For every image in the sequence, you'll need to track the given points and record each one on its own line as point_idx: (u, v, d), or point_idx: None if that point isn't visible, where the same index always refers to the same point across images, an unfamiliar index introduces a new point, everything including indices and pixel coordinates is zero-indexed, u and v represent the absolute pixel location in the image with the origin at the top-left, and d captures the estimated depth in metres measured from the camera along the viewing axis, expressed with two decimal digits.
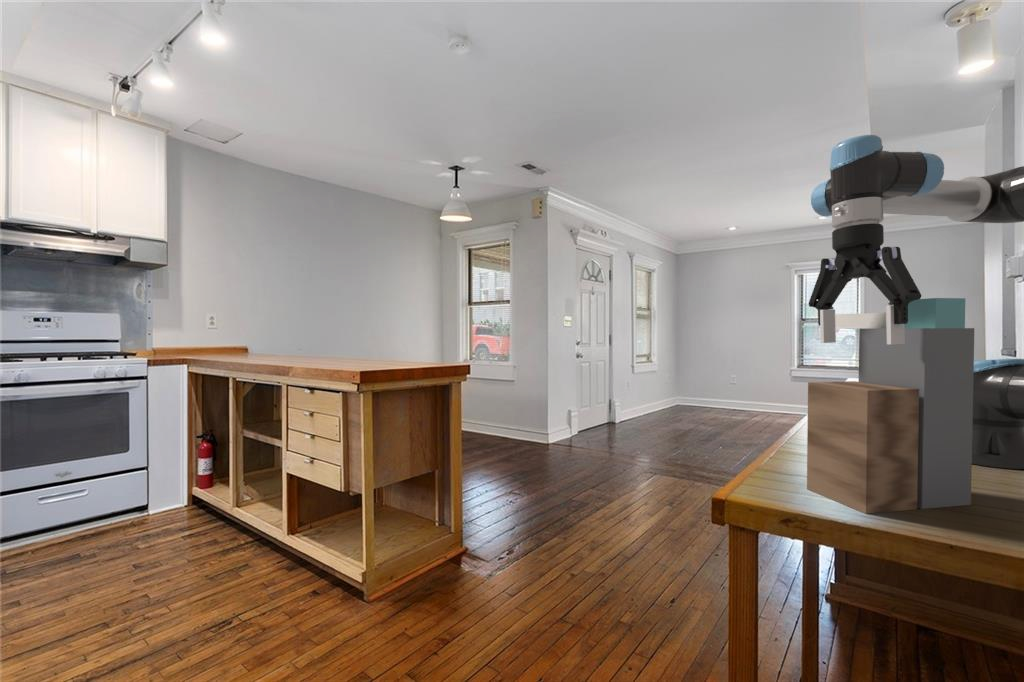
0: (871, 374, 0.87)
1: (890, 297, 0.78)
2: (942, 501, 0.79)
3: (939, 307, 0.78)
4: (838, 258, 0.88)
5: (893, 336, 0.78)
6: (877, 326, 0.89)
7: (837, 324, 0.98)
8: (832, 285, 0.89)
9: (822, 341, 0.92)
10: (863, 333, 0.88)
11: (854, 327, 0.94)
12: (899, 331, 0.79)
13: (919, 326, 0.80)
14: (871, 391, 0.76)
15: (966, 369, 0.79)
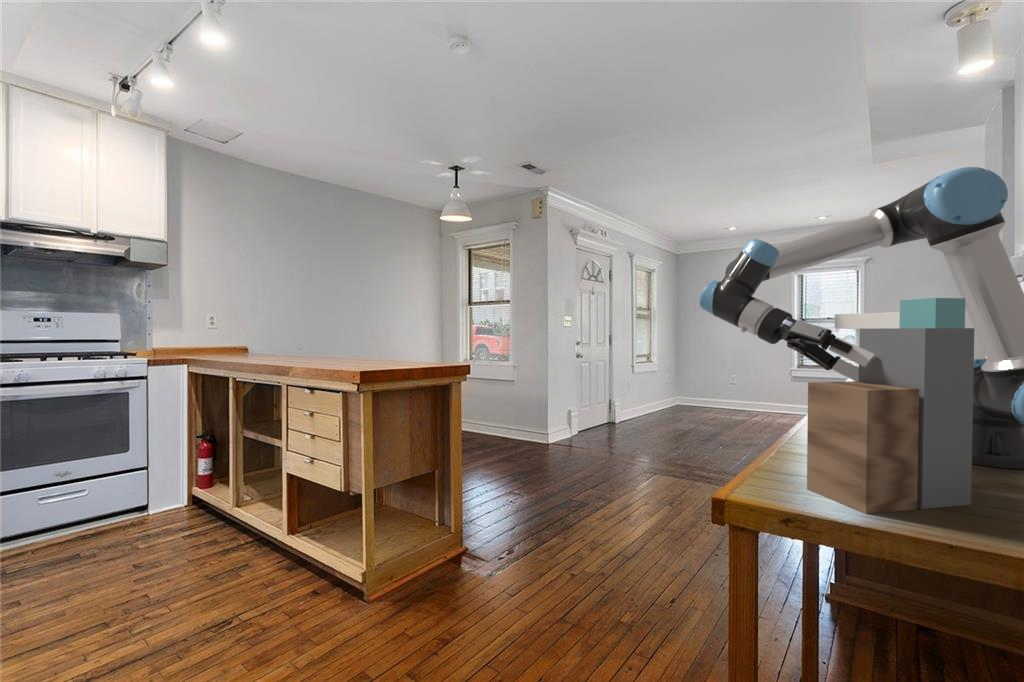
0: (871, 374, 0.87)
1: (821, 345, 0.91)
2: (942, 501, 0.79)
3: (939, 307, 0.78)
4: (787, 341, 1.03)
5: (859, 360, 0.86)
6: (877, 326, 0.89)
7: (837, 324, 0.98)
8: (809, 354, 1.02)
9: None
10: (863, 333, 0.88)
11: (854, 327, 0.94)
12: (858, 353, 0.87)
13: (919, 326, 0.80)
14: (871, 391, 0.76)
15: (966, 369, 0.79)
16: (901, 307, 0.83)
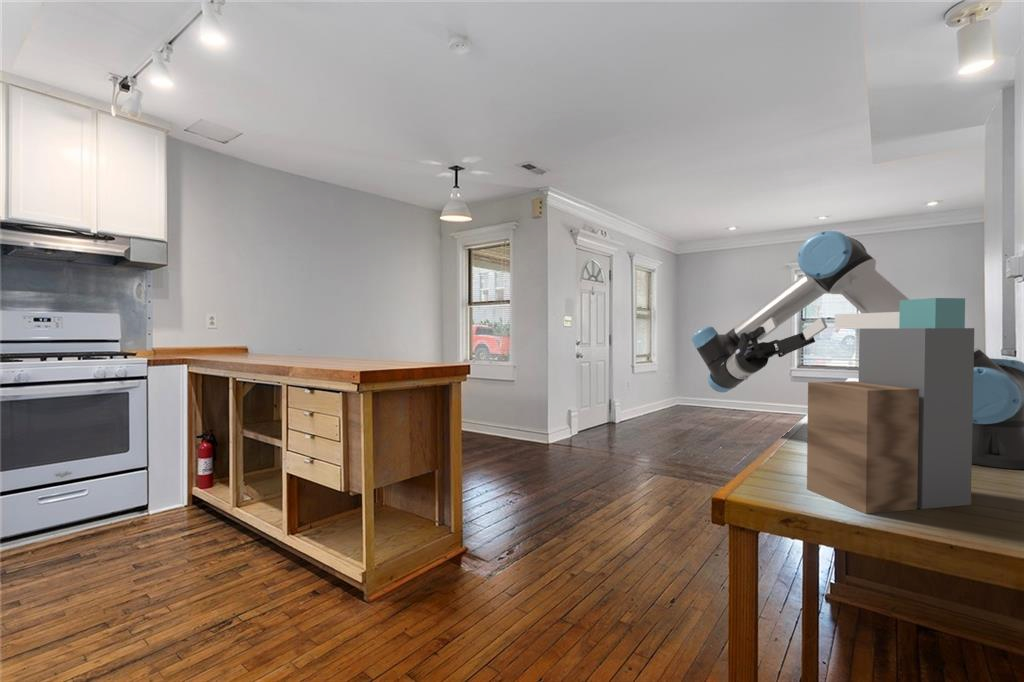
0: (871, 374, 0.87)
1: None
2: (942, 501, 0.79)
3: (939, 307, 0.78)
4: None
5: (770, 328, 1.12)
6: (877, 326, 0.89)
7: (837, 324, 0.98)
8: (786, 347, 1.23)
9: (825, 327, 1.14)
10: (863, 333, 0.88)
11: (854, 327, 0.94)
12: (767, 325, 1.13)
13: (919, 326, 0.80)
14: (871, 391, 0.76)
15: (966, 369, 0.79)
16: (901, 307, 0.83)
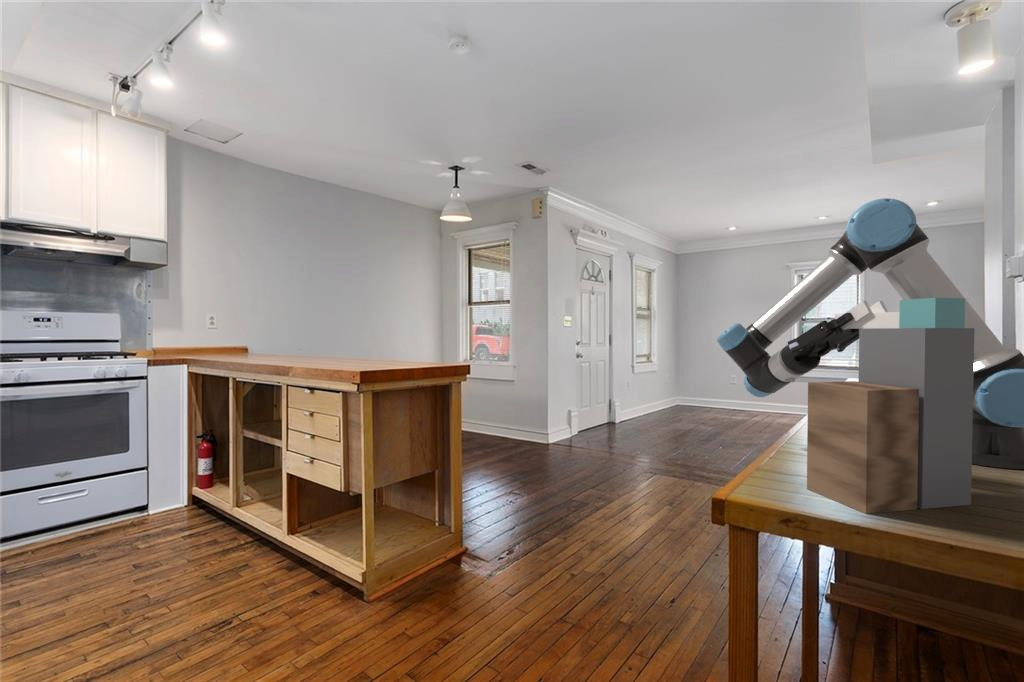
0: (871, 374, 0.87)
1: (835, 332, 0.97)
2: (942, 501, 0.79)
3: (939, 307, 0.78)
4: None
5: (862, 313, 0.91)
6: (877, 326, 0.89)
7: None
8: (839, 342, 1.01)
9: None
10: (863, 333, 0.88)
11: (854, 327, 0.94)
12: (856, 311, 0.93)
13: (919, 326, 0.80)
14: (871, 391, 0.76)
15: (966, 369, 0.79)
16: (901, 307, 0.83)
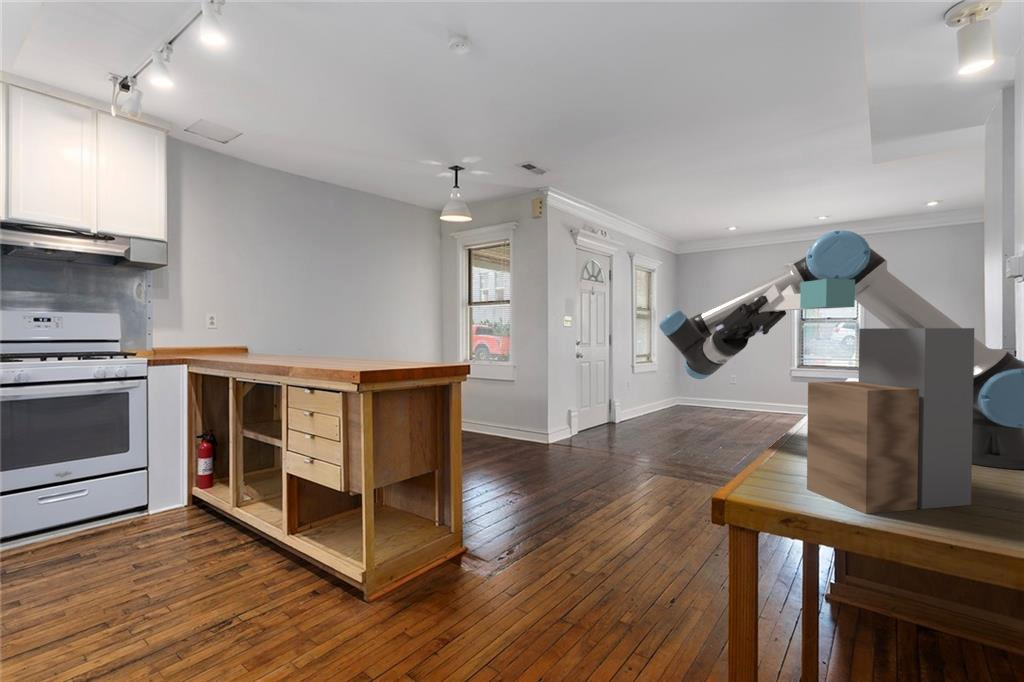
0: (871, 374, 0.87)
1: (754, 314, 1.04)
2: (942, 501, 0.79)
3: (830, 287, 0.85)
4: (750, 336, 1.14)
5: (774, 296, 0.99)
6: (785, 307, 0.96)
7: None
8: (760, 324, 1.09)
9: None
10: (863, 333, 0.88)
11: (769, 309, 1.01)
12: (770, 294, 1.00)
13: (814, 305, 0.87)
14: (871, 391, 0.76)
15: (966, 369, 0.79)
16: (801, 288, 0.90)
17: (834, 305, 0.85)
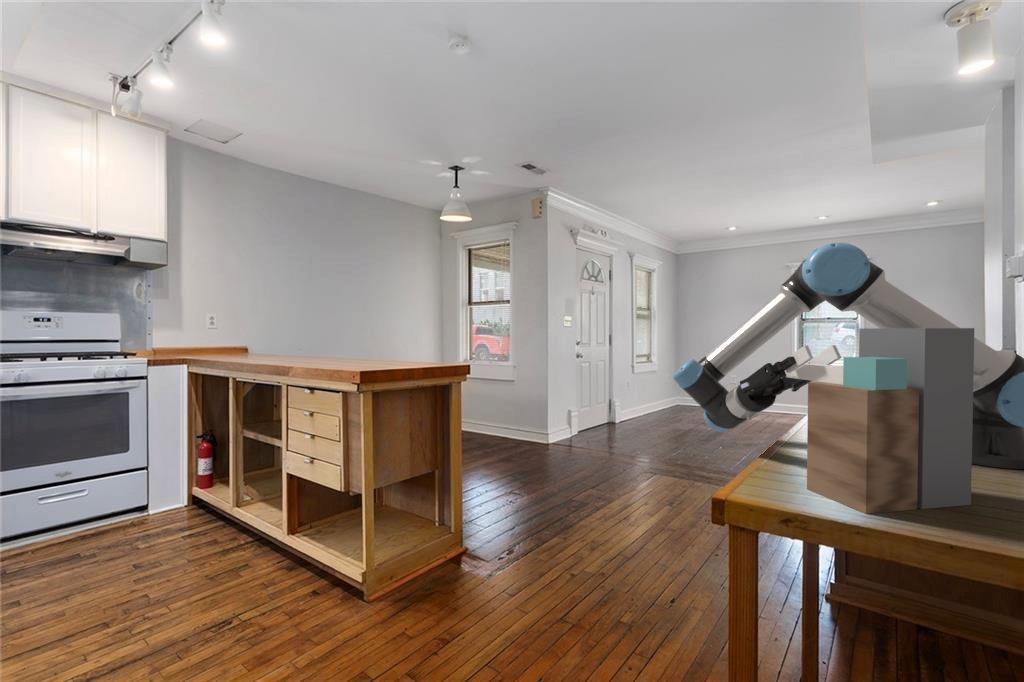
0: None
1: None
2: (942, 501, 0.79)
3: (880, 368, 0.76)
4: None
5: (804, 359, 0.90)
6: (824, 380, 0.87)
7: (788, 373, 0.96)
8: (794, 382, 1.00)
9: (838, 358, 0.90)
10: (863, 333, 0.88)
11: (803, 378, 0.92)
12: (798, 355, 0.91)
13: (861, 386, 0.78)
14: (871, 391, 0.76)
15: (966, 369, 0.79)
16: (844, 364, 0.81)
17: (884, 388, 0.76)
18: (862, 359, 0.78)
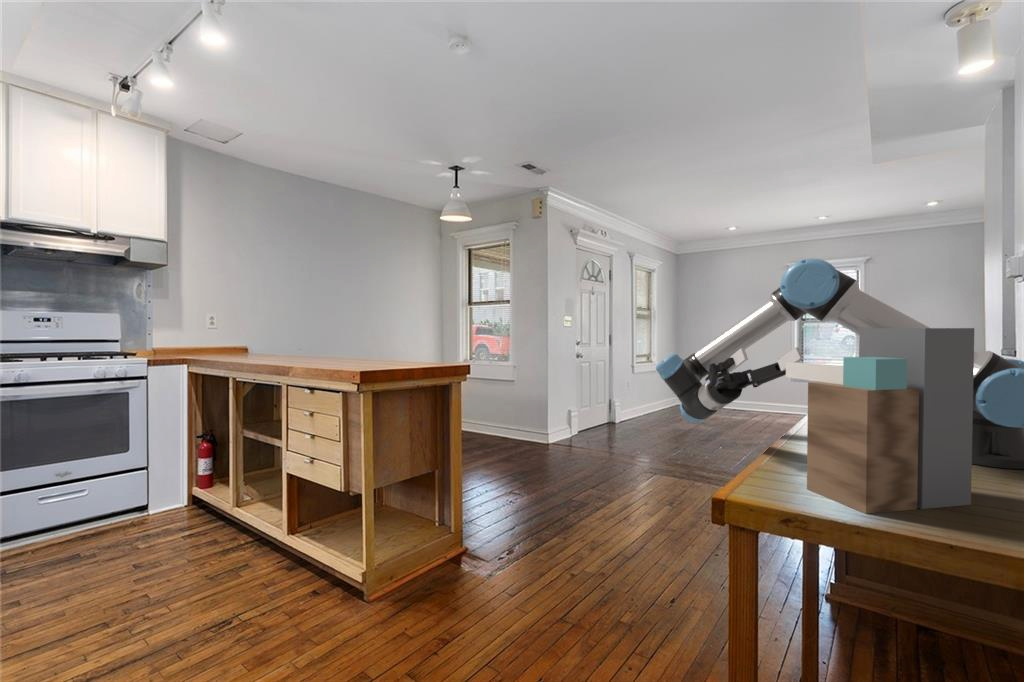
0: None
1: None
2: (942, 501, 0.79)
3: (880, 368, 0.76)
4: None
5: (740, 359, 1.02)
6: (824, 380, 0.87)
7: (788, 373, 0.96)
8: (760, 378, 1.12)
9: (800, 358, 1.03)
10: (863, 333, 0.88)
11: (803, 378, 0.92)
12: (737, 356, 1.03)
13: (861, 386, 0.78)
14: (871, 391, 0.76)
15: (966, 369, 0.79)
16: (844, 364, 0.81)
17: (884, 388, 0.76)
18: (862, 359, 0.78)
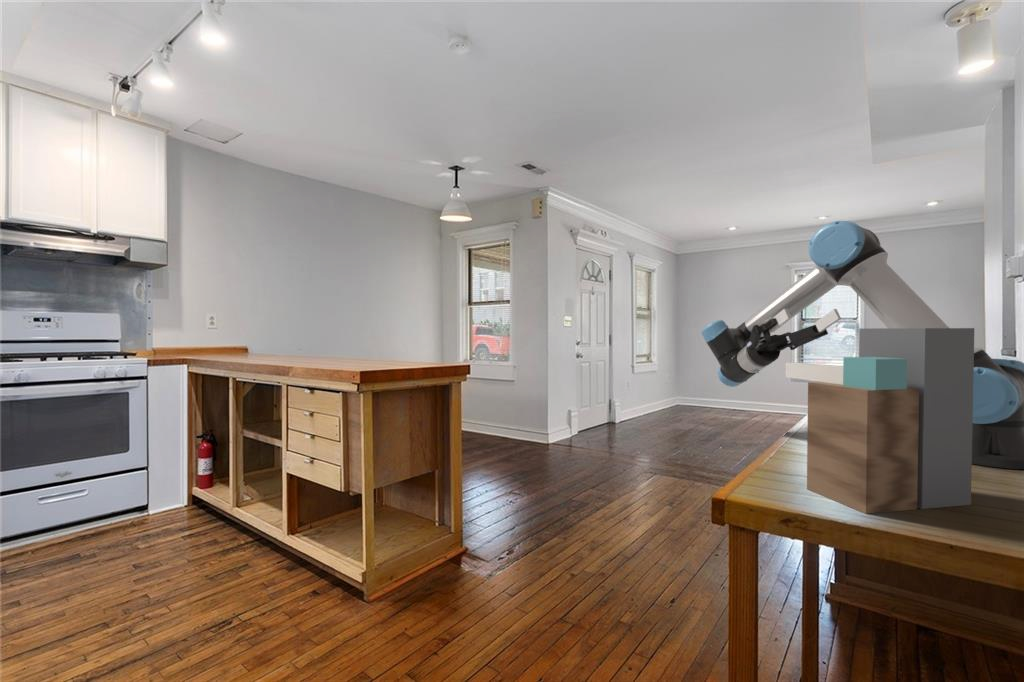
0: None
1: None
2: (942, 501, 0.79)
3: (880, 368, 0.76)
4: None
5: (783, 319, 1.11)
6: (824, 380, 0.87)
7: (788, 373, 0.96)
8: (798, 340, 1.21)
9: (838, 319, 1.12)
10: (863, 333, 0.88)
11: (803, 378, 0.92)
12: (780, 317, 1.12)
13: (861, 386, 0.78)
14: (871, 391, 0.76)
15: (966, 369, 0.79)
16: (844, 364, 0.81)
17: (884, 388, 0.76)
18: (862, 359, 0.78)
